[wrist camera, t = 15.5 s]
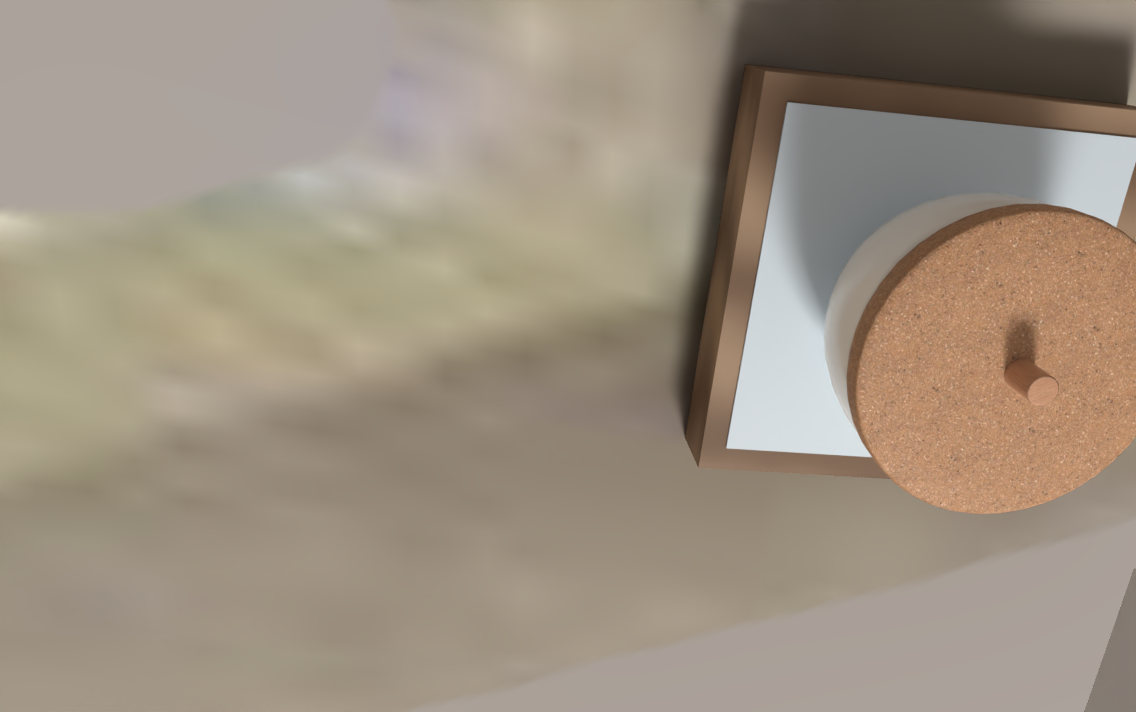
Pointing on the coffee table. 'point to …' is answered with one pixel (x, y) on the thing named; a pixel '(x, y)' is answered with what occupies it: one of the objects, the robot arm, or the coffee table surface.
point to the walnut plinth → (859, 233)
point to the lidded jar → (988, 349)
